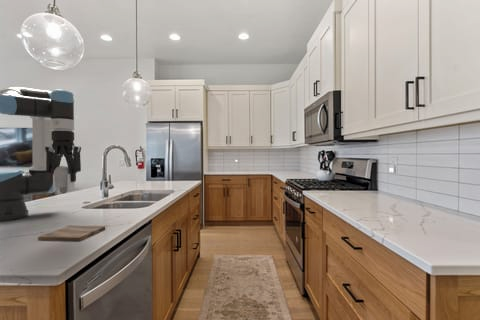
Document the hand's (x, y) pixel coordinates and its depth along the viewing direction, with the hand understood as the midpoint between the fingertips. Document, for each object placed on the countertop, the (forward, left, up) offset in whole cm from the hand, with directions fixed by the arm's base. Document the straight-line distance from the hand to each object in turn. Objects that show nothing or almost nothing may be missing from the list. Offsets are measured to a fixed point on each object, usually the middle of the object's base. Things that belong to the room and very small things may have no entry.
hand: (63, 190), depth 107 cm
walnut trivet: (0, +4, -17) cm, 18 cm away
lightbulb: (0, 0, -1) cm, 2 cm away
